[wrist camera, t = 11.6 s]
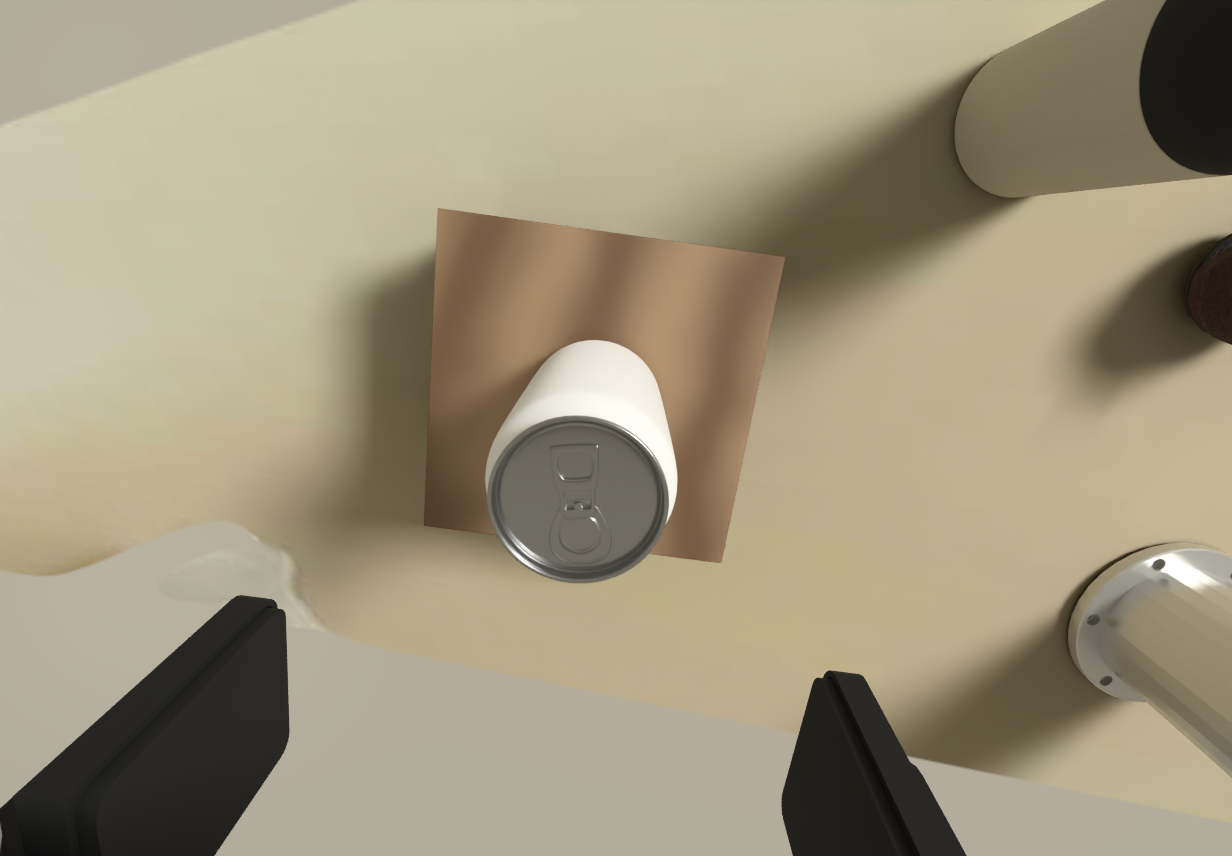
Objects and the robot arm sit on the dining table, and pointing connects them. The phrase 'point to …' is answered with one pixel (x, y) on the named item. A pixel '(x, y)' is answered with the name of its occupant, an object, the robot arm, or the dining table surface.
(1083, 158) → the travel mug
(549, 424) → the can
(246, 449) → the dining table surface
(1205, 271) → the mate gourd
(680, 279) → the small wooden table
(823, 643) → the dining table surface
